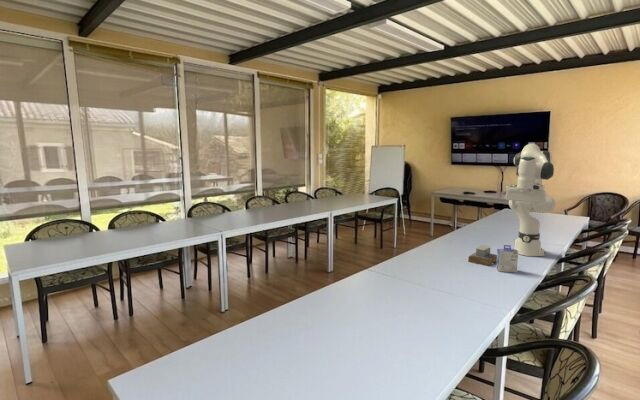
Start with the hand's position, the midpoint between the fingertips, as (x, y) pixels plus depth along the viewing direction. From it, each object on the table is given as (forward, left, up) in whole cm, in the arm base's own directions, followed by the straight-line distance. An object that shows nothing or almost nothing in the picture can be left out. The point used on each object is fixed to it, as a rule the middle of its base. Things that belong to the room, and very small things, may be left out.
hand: (524, 209), depth 201 cm
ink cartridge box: (+14, -3, -34) cm, 37 cm away
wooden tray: (+6, -19, -34) cm, 40 cm away
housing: (+6, -19, -30) cm, 36 cm away
